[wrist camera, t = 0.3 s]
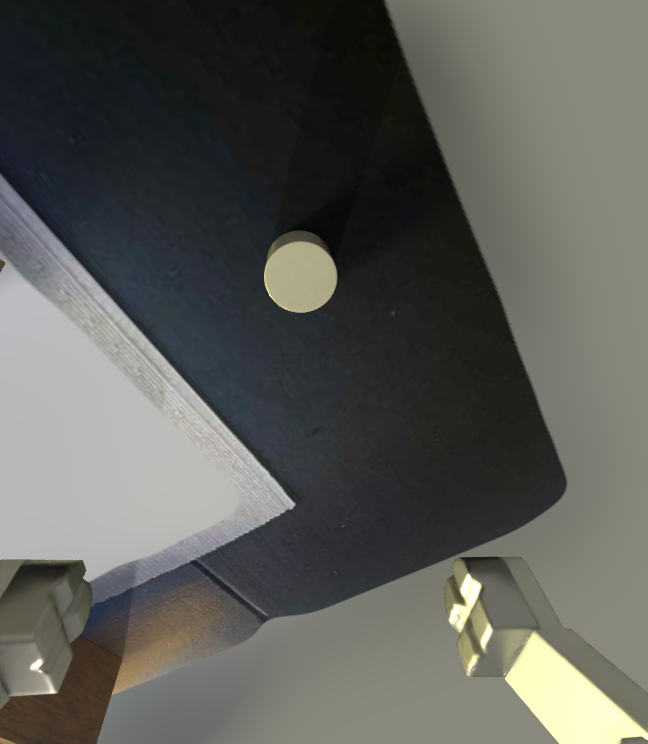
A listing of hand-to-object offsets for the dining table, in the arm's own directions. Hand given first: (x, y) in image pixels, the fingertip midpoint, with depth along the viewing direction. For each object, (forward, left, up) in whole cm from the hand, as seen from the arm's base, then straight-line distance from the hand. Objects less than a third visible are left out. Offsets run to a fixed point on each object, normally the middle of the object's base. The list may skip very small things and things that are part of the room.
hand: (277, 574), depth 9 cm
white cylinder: (-1, 0, -22) cm, 22 cm away
